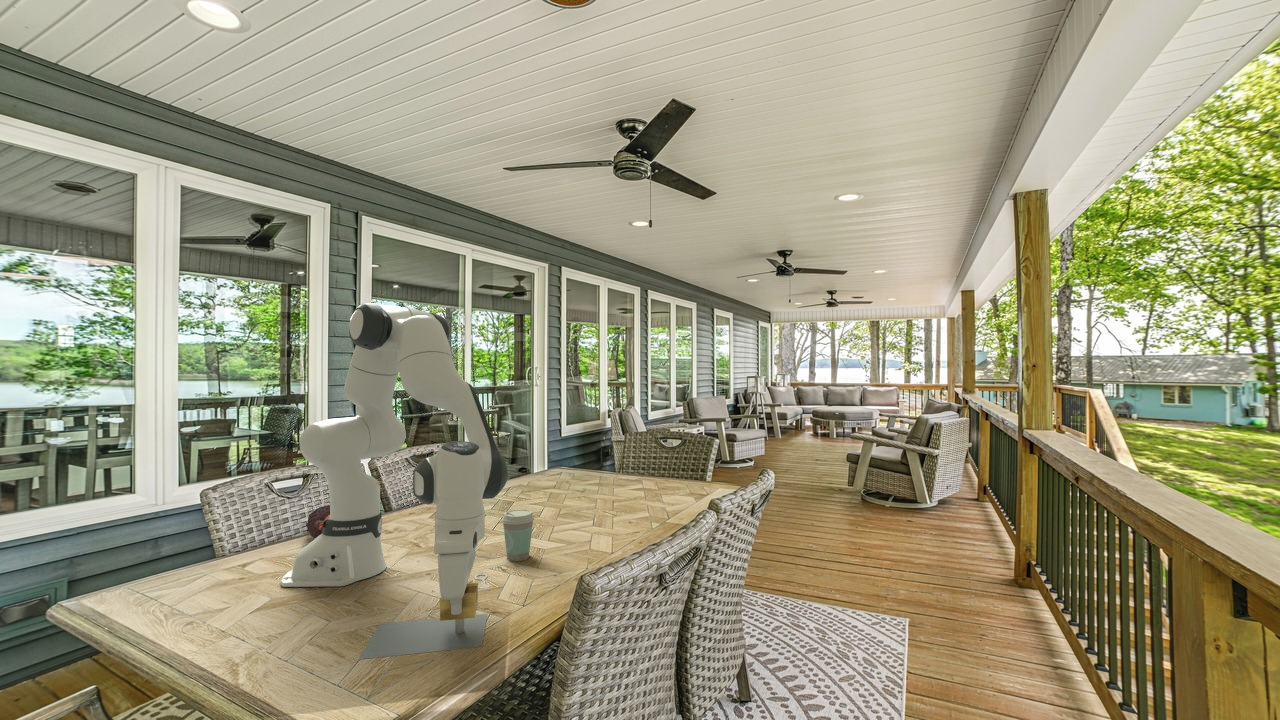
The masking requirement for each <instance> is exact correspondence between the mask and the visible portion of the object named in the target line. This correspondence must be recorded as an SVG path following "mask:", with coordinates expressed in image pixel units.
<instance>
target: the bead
mask: <svg viewBox="0 0 1280 720" xmlns="http://www.w3.org/2000/svg"><path fill="white" fill-rule="evenodd" d="M478 586H479V582H475V583H473V582H472V583H468V584H467V586H466V589H465V592H464V596H463V597H462V601H463V602H462V612H461V614H457V615H452V614H451V603H450V600H443V599H442V597H441V596H440V598H439V618H440V621H444V620H455V619H466V618H475V615H477V614H476V613H477V608H478V606H479V588H478Z"/></svg>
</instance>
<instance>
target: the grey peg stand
mask: <svg viewBox="0 0 1280 720" xmlns="http://www.w3.org/2000/svg"><path fill="white" fill-rule="evenodd" d="M488 615H489V614H488V613H480V614H479V613H478V614H475V618H466V619H455V620H444V621H440V617H438V618H427V619H417V620H405V621H394V622H386V623H385V622H384V623H379V625H378V627H377V628H376V630H375V631H374V633H373V635H372V636H371V638H370V639H369V641H368V642H367V644H366V646H365V648H364V649H363V651H362V652H361V654H360V656H359V658H358V659H357V660H358V661H361V660H368V659H378V658H387V657H397V656H398V657H399V656H407V655H417V654H425V653H434V652H436V653H437V652H444V651H452V650H461V649H462V650H463V649H472V648H481V647H482V646H483V640H484V636H485V635H484V634H485V630H486V624H487V618H488Z"/></svg>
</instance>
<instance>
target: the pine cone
mask: <svg viewBox="0 0 1280 720" xmlns="http://www.w3.org/2000/svg"><path fill="white" fill-rule="evenodd" d="M329 515H330V504H328V505H323V506H319V507H318V508H316V509H314V510H312V512H311V513H310V514H309V515H308V517H307V522H306V525H305V526H306V528H307V529H306V531H307V532H308V533H309V535H310V536H311V537H313V540H314V539H315V538H317V537H318V536H319V535H321V534H322V529H319V528H320V526H319V525H320V524H321V523H322V522H323V521H324V520H325V518H326V517H328V516H329Z"/></svg>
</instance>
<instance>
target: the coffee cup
mask: <svg viewBox="0 0 1280 720" xmlns="http://www.w3.org/2000/svg"><path fill="white" fill-rule="evenodd" d="M534 520H535V518H534V514H533V511H532V510H530V509H512V510H508V511H505V512H504V514H503V517H502V519H501V522H502V524H503V525H502V526H503V535H504V543H505V551H506V558H507V560H508V561H510V560H511V562H520V561H521V560H522V561H524V560H527V559H529V557H530V551H531V544H532V543H531V542H532V535H533V534H532V532H533V524H534Z"/></svg>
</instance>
